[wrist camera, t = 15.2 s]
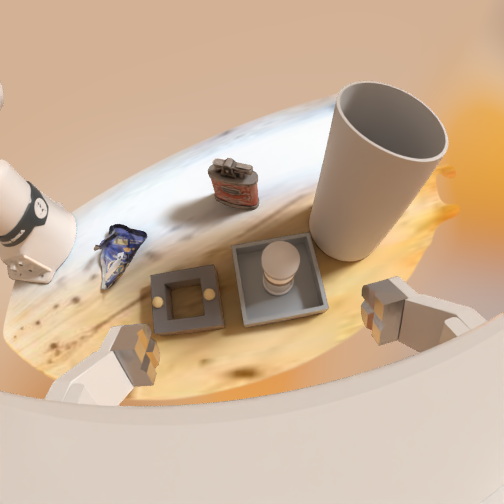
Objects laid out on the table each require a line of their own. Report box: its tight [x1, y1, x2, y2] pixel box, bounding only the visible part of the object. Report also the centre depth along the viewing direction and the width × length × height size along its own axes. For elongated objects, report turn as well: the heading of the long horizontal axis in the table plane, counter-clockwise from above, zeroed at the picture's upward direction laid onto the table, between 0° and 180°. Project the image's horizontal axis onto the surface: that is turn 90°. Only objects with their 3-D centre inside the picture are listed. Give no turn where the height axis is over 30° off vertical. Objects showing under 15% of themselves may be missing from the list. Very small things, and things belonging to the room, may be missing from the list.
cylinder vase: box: [309, 81, 448, 261], centre depth 35 cm, size 12×12×25 cm
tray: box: [231, 232, 329, 328], centre depth 42 cm, size 12×12×3 cm
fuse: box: [262, 241, 300, 296], centre depth 38 cm, size 5×5×10 cm
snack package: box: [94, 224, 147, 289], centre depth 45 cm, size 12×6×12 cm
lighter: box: [208, 158, 259, 210], centre depth 45 cm, size 8×3×10 cm, turn 71°
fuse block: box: [150, 265, 225, 336], centre depth 41 cm, size 10×9×4 cm
